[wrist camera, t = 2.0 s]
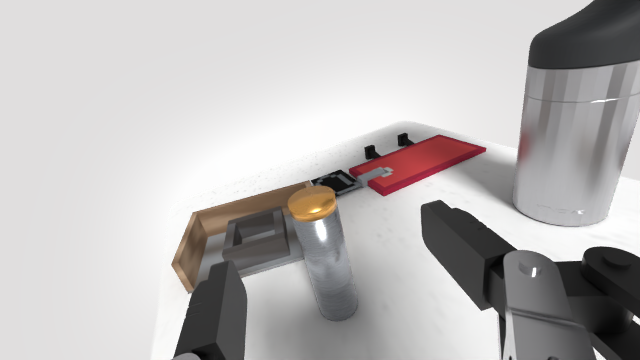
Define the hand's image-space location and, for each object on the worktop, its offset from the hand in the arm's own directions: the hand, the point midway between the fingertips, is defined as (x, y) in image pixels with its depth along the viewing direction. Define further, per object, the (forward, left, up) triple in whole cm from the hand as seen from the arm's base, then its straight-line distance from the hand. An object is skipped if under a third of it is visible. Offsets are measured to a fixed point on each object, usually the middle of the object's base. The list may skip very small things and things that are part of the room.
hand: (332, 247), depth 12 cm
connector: (-8, -8, -17) cm, 20 cm away
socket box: (-12, -23, -17) cm, 31 cm away
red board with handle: (-39, -14, -17) cm, 45 cm away
